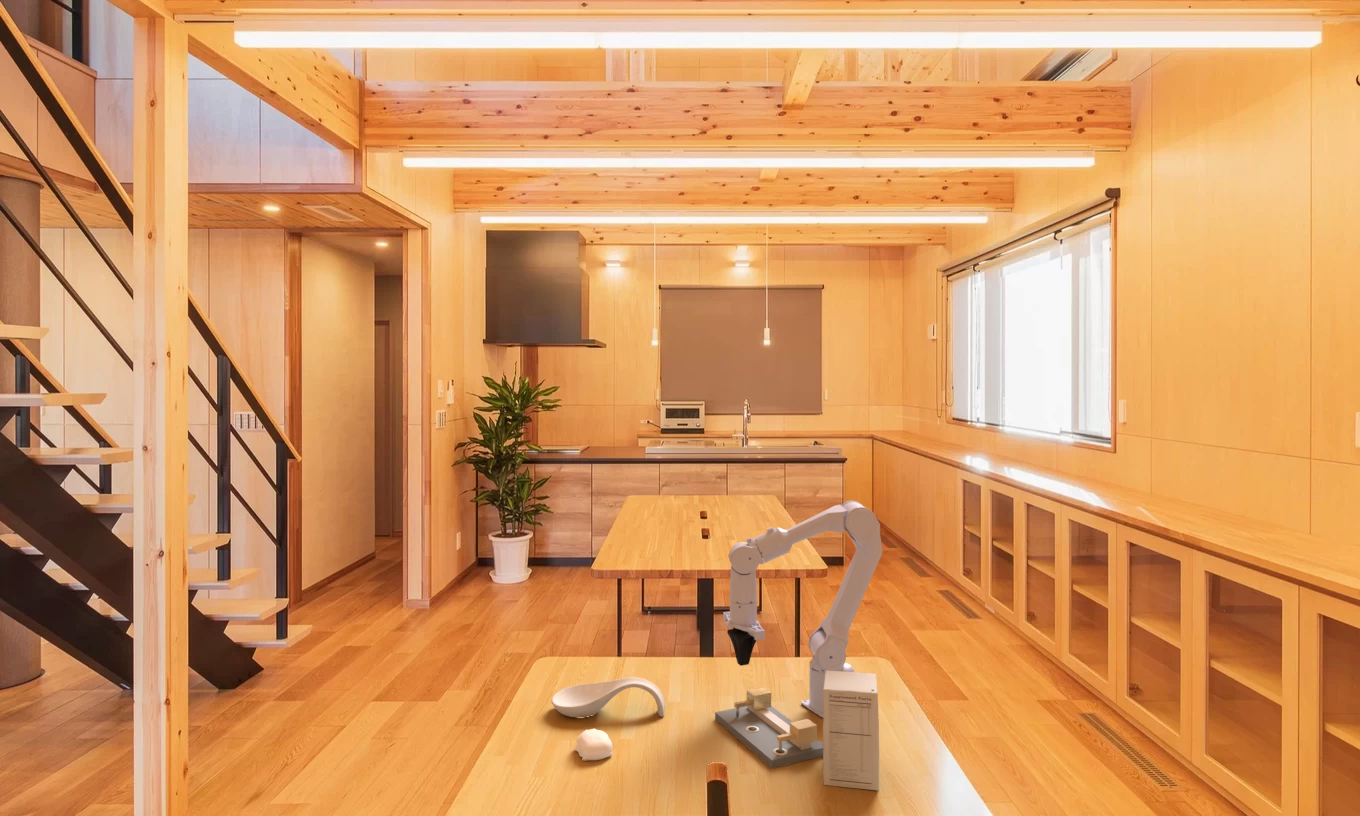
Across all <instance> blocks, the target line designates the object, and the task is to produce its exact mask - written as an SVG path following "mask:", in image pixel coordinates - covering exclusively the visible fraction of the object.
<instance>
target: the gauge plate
mask: <svg viewBox="0 0 1360 816" xmlns="http://www.w3.org/2000/svg"><path fill="white" fill-rule="evenodd" d="M714 718H715V720H716V722H717V723H719V724H720V725H721V726H722V727H723V728H724V729H725V730H727V731H728V732H729V733H730V734H731V735H733V737H734V738H736V739H737V740H738V741H740V742H741V743H742V745H744V746H745V747H746V748H747V749H749V751H751V752H752V753H753V754H754V755H756V756H757V758H759V759H760V760H761V761H762V762H763V763H765V764H766V765H767V766H768V767H769V768H771V769H776V768H780V767H784V766H788V765H792V764H795V763H800V762H804V761H808V760H812V759H816V758H820V757H823V742H821V741H820V740H819V739H818V725H817V724H816V723H815V722H813V721H812V720H810V719H809V718H805V719H801V720H796V721H793V720H791V719H790V718H789V717H787V716H786V715H784V714H783V713H781V712H780V711H779V710H778V709H776V708H775V707H773V705H771V707H769V708H764V709H759V710H755V711H754V710H753V709H751V708H750V707H749V706H745V707H740V708H739V717H736V708H735V707H734V708H728V709H725V710H720V711H715V712H714Z"/></svg>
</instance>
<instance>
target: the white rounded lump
mask: <svg viewBox="0 0 1360 816" xmlns="http://www.w3.org/2000/svg"><path fill="white" fill-rule="evenodd" d="M578 735H579V736H578V737H577V740H576V746H575V747H574V751H575V752H578V755H579V757H580V758H581V757H582V760H581V761H585V762H586V761H601V760H603V759H606V758H609V757H612V755H613V753H612V752H613V743H612V740H611V739H610V737H609V735H608V733H606V732H605V731H603V730H599V729H596V728H595V727H594V728H591V729H584V731H583V732H581V733H580V734H578Z"/></svg>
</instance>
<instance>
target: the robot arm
mask: <svg viewBox="0 0 1360 816" xmlns="http://www.w3.org/2000/svg"><path fill="white" fill-rule="evenodd" d="M829 531H830V532H836V533H840V534H845V531H846V532H847V533H848V535H849V536H850V539H851V541H852V543H853V546H854V548H855V551H854V554H853V556H852V559H851V560H850V562H849V565H848V568H847V570H846V572H845V575H844V577H843V579H842V581H841V583H840V586H839V588H838V590H837V593H836V595H835V598H834V600H833V602H832V605H831V607H830V609H829V612H828V614H827V615H826V616H825V618H824V619H823V620H821V621H820V624H819V626H818V627H817V629H816V630H814V631H813V632H812V633H811V634H810V636H809V638H808V647H809V649H810V651H811V653H812V654H813V655H812V658H811V660H810V661H809V671H808V672H809V673H808V675H809V681H808V682H809V683H808V684H809V691H808V692H809V693H808V694H809V698H808V699H806V700H805V699H804V700H801V702H800V704H801V705H802V706H804V707H805V708H807V709H808V710H810V711H811V712H813V713H814V714H816V715H817V716H819V717H820V718H823V689H824V681H825V672H826V670H829V671H844V672H855V670H854V668H853V667H852V666H851V664H849V663H848V662H846V660H847V659H846V658H847V655H846V654H847V653H846V650H847V647H848V644H849V638H850V636H849V635H850V629H851V626H852V623H853V622H854V619H855V617H856V614H857V612H858V611H859V608H860V606H861V603H862V601H863V598H864V596H865V594H866V592H867V590H868V587H869V585H870V583H871V580H872V578H873V576H874V574H875V571H876V569H877V566H878V564H879V562H880V560H881V557H882V556H883V544H882V538H881V532H880V531H881V524H880V522H879V520H878V518H877V517H876V515H875V513H874V512H873V511H872V510H871V509H870V508H867V507H866V506H864V505H863V504H862V503H861V502H859V501H857V500H847V501H845V502H844V503H842V504H836V505H833V506H831V507H830V508H827V509H826V510H823V511H821V512H819V513H818V514H817V513H816V514H815V515H813V516H812V517H809V518H808V519H805V520H804V521H801V522H799V523H797V524H795V525H793V526H791V527H790V528H787V529H784V528H781V527H778V526H777V527H774V528H773V526H769V527H767V528H766V531H765V532H764V533H762V534H758V535H757V536H755V537H753V538H751V536H750V537H747V538H746V539H745V540H746V541H745V542H744V541H740V542H737V543H735V544H733V545H732V547H731V548H730V550H729V553H728V554H727V556H728V559H729V562H730V565H731V566H730V571H729V573H730V574H729V575H730V578H729V611H723V612H722V613H723V616H722V619H723V620H722V621H723V622H724V626H726V627H727V628H729V629H728V630H727V631H726V632H727V635H728V637H729V638H730V641H731V643H732V646H733V650H734V654H735V658H736V663H737V664H738V665H739V666H748V665H749V664H750V662H751V657H752V653H753V649H754V648H755V645H756V643H757V641H764V640H766V630H765V629H763V627H762V626H761V624H760V622H759V620H758V604H757V603H758V578H757V569H758V567H759V565H764V564H766V563H769V562H771V561H773V560H775V559H778V558H780V557H781V556H782V557H783V556H784V555H787V554H788V553H790V551H791V549H792V547H793V545H795V544H797V543H799V542H801V541H804V540H807V539H809V538H811V537H814V536H817V535H820V534H822V533H824V532H829ZM730 628H732V629H730Z"/></svg>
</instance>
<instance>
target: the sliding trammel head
mask: <svg viewBox="0 0 1360 816" xmlns="http://www.w3.org/2000/svg"><path fill="white" fill-rule="evenodd" d="M745 706H749V707H750V708H751V709H753V710H754V711H755V710H759V709H764V708H769V707H771V706H772V692H771V691H770V690H768V689H767V688H766V687H759V688H751V689H747V690H746V700H741V701H737V702H734V708H736V717H739V708H740V707H745Z"/></svg>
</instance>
